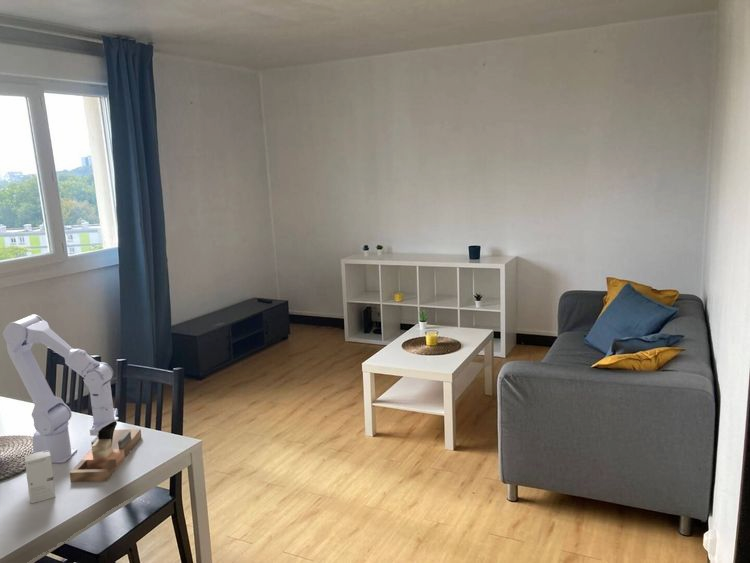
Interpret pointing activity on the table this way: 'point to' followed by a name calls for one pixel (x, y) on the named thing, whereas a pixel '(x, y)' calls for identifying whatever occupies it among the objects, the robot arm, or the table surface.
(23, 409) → the table surface
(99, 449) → the maple block
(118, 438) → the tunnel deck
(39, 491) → the skincare box
